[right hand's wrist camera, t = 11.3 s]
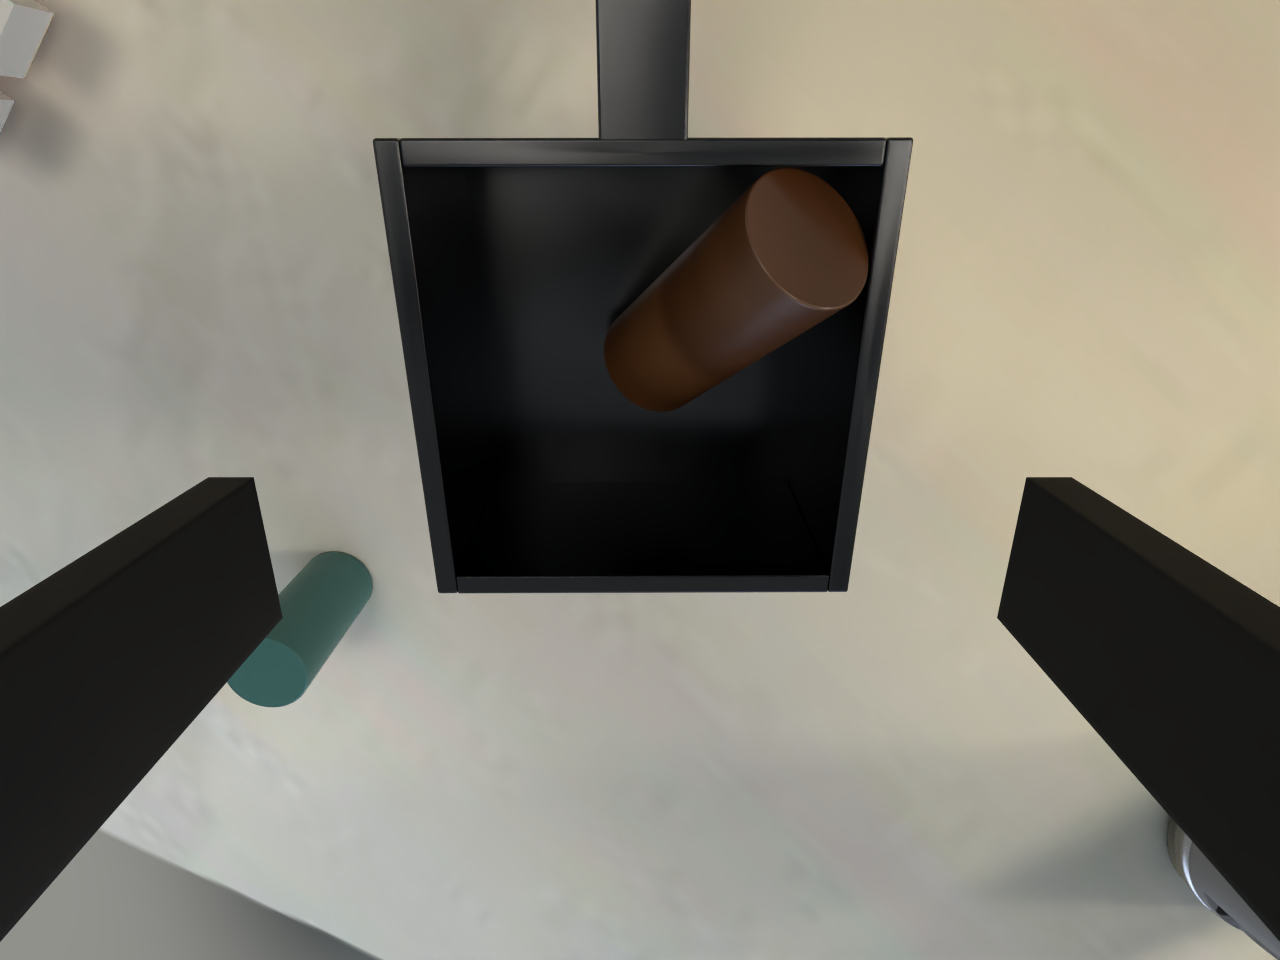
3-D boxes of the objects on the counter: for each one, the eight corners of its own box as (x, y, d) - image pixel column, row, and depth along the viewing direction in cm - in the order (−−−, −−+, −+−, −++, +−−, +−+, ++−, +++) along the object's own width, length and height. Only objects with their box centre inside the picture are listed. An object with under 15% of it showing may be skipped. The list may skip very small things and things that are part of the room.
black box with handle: (918, -659, 16) (1114, -1223, 9) (798, 488, 28) (847, 592, 21) (363, -661, 16) (172, -1226, 9) (484, 489, 28) (437, 594, 21)
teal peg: (368, 550, 37) (299, 637, 30) (377, 610, 38) (313, 708, 31) (299, 550, 37) (213, 637, 30) (310, 610, 38) (231, 708, 31)
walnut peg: (690, 311, 25) (853, 176, 18) (707, 411, 24) (882, 313, 17) (595, 306, 23) (733, 155, 16) (612, 413, 22) (762, 305, 15)
